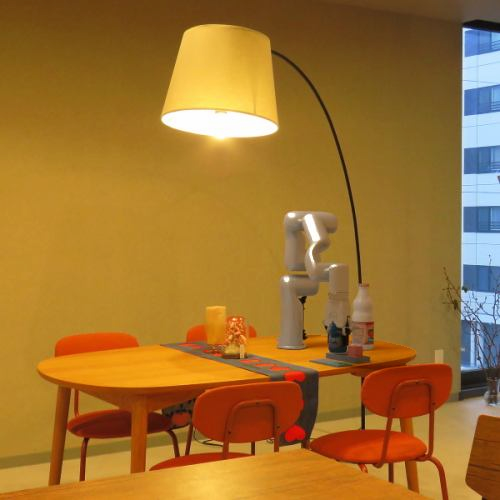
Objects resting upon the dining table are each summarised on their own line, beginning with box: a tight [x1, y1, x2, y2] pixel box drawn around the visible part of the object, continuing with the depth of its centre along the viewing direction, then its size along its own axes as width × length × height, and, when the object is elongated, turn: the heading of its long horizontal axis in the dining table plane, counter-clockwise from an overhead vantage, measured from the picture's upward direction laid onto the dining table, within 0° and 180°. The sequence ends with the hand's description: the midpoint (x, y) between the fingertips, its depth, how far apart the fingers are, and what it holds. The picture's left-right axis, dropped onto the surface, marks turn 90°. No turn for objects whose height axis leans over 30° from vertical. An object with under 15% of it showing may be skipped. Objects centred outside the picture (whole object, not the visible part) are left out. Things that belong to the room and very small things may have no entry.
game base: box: [325, 352, 371, 364], centre depth 300 cm, size 16×8×2 cm, turn 39°
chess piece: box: [298, 296, 308, 341], centre depth 361 cm, size 8×8×20 cm
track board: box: [309, 358, 353, 368], centre depth 291 cm, size 15×8×1 cm, turn 39°
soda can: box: [327, 321, 347, 354], centre depth 288 cm, size 7×7×12 cm
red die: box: [348, 343, 364, 357], centre depth 297 cm, size 4×4×4 cm
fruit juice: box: [351, 283, 375, 351], centre depth 330 cm, size 9×9×28 cm
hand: (338, 344), depth 288 cm, fingers closed on soda can, 6 cm apart
